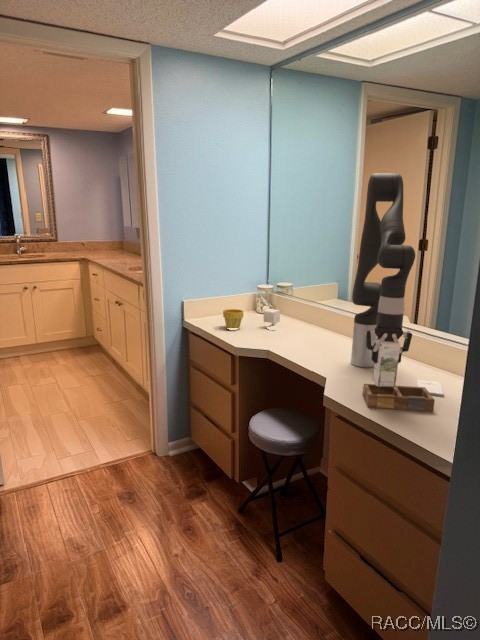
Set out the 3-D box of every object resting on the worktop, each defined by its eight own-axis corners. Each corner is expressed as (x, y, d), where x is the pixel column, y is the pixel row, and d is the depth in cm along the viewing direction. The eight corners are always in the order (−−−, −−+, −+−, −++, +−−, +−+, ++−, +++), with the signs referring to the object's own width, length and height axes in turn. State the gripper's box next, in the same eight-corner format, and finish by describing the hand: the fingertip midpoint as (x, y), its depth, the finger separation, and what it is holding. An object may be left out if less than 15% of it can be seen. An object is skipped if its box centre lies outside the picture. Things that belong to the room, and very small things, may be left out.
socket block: (362, 394, 150) (363, 382, 150) (423, 398, 148) (425, 386, 147) (367, 407, 140) (369, 394, 139) (433, 412, 138) (435, 399, 137)
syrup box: (389, 381, 147) (393, 337, 143) (395, 387, 141) (400, 343, 138) (371, 381, 146) (375, 337, 143) (377, 387, 141) (382, 342, 137)
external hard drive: (417, 395, 153) (416, 383, 165) (443, 398, 151) (440, 386, 162) (418, 390, 153) (416, 378, 164) (444, 394, 150) (441, 381, 162)
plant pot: (236, 326, 242) (236, 308, 239) (246, 330, 233) (247, 311, 231) (219, 328, 236) (219, 309, 234) (229, 332, 228) (229, 313, 225)
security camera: (269, 326, 242) (270, 308, 240) (280, 328, 238) (281, 310, 236) (263, 328, 237) (263, 310, 235) (274, 331, 233) (275, 312, 231)
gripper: (411, 309, 141) (406, 360, 145) (364, 307, 143) (360, 358, 146) (418, 314, 134) (412, 368, 138) (368, 312, 135) (363, 365, 139)
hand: (385, 362), depth 142 cm, fingers closed on syrup box, 6 cm apart
